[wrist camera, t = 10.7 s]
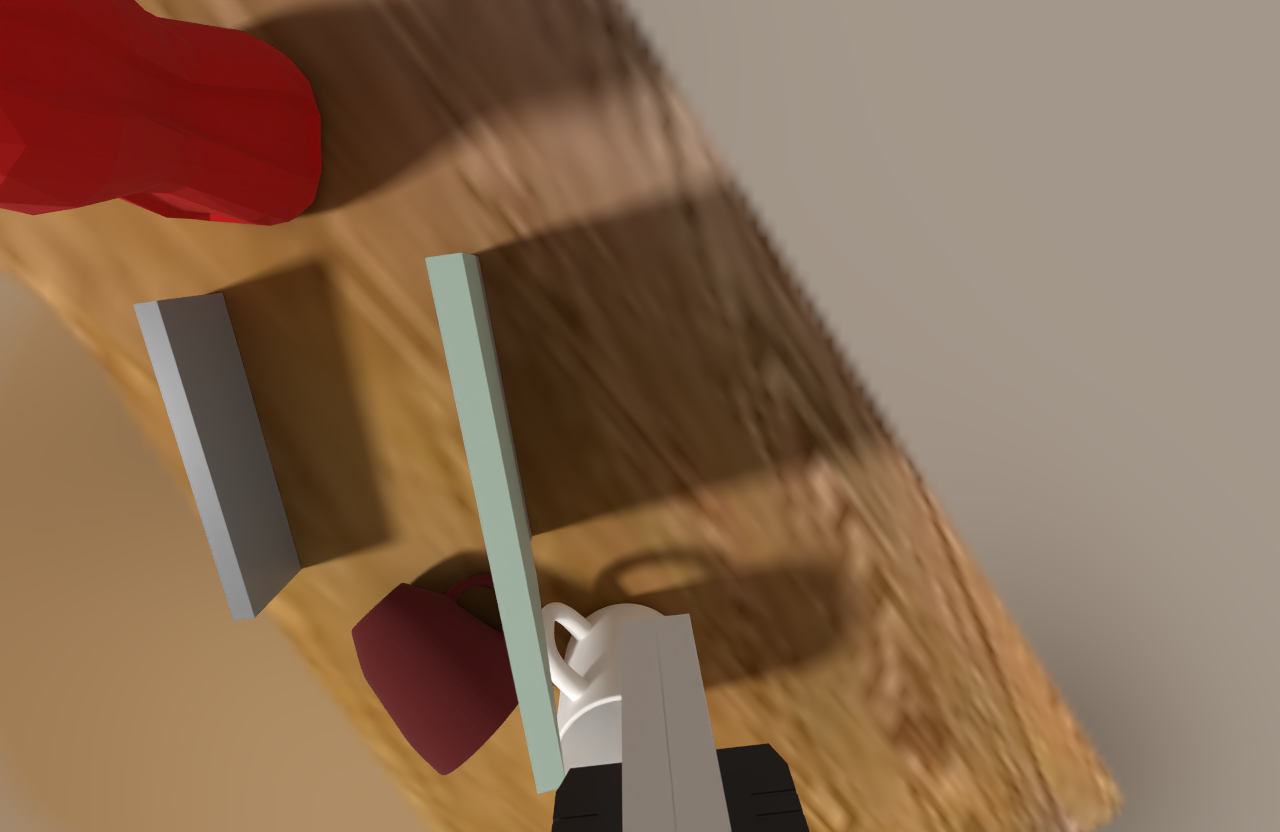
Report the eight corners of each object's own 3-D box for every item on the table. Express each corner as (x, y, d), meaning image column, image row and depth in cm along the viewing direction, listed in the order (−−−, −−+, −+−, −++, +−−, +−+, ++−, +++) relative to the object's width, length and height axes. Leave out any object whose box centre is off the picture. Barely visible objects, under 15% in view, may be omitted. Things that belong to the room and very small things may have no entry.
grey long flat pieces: (202, 295, 41) (133, 304, 35) (478, 256, 41) (455, 258, 35) (283, 571, 45) (233, 620, 39) (531, 536, 45) (519, 580, 39)
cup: (620, 726, 49) (621, 849, 39) (502, 613, 46) (471, 714, 36) (710, 657, 48) (735, 765, 38) (594, 537, 45) (588, 619, 35)
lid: (425, 257, 19) (461, 252, 19) (455, 258, 35) (475, 255, 35) (537, 793, 24) (566, 786, 24) (519, 580, 39) (536, 576, 39)
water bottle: (119, 36, 37) (-815, -348, 13) (327, 56, 38) (-193, -279, 13) (136, 215, 39) (-633, 172, 15) (332, 230, 40) (-106, 214, 16)
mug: (450, 532, 40) (569, 654, 41) (461, 528, 48) (560, 629, 48) (305, 670, 38) (432, 797, 38) (341, 642, 46) (447, 747, 46)
